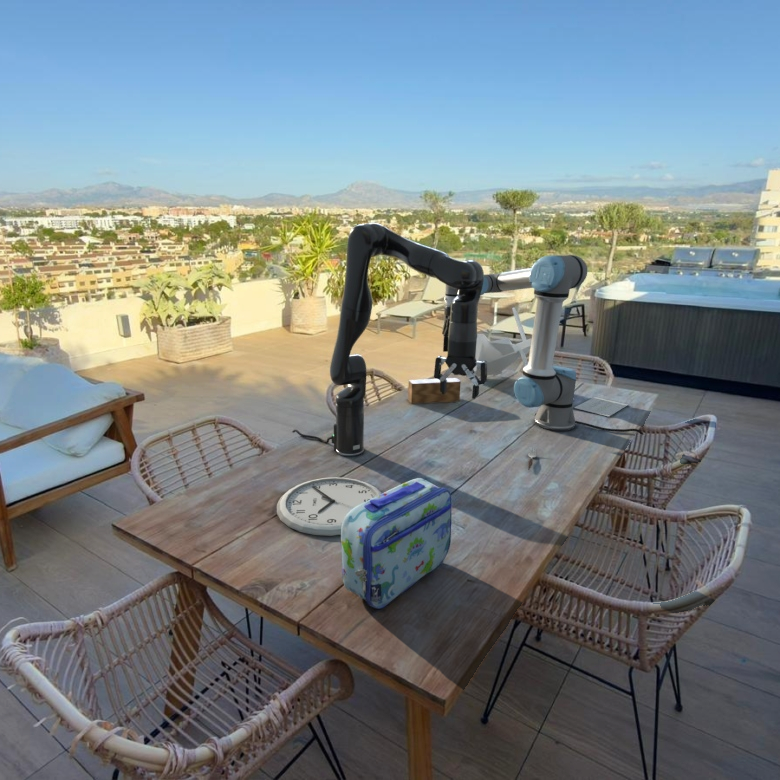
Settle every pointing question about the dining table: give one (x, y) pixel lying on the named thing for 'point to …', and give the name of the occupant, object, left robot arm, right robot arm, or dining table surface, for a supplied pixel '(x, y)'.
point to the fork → (531, 457)
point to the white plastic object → (501, 351)
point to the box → (433, 391)
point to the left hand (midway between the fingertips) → (459, 395)
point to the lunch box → (395, 540)
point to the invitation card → (601, 406)
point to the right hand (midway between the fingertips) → (451, 355)
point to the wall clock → (323, 504)
